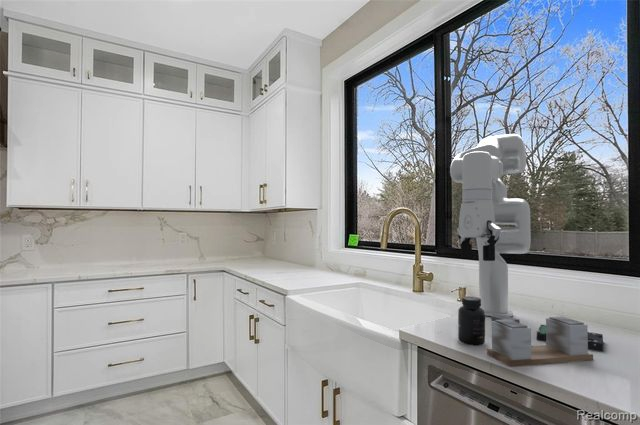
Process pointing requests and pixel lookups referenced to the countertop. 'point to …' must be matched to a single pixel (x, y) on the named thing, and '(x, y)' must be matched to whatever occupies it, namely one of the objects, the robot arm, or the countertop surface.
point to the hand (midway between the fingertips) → (477, 259)
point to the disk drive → (593, 339)
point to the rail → (561, 345)
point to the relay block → (500, 317)
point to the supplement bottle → (471, 322)
